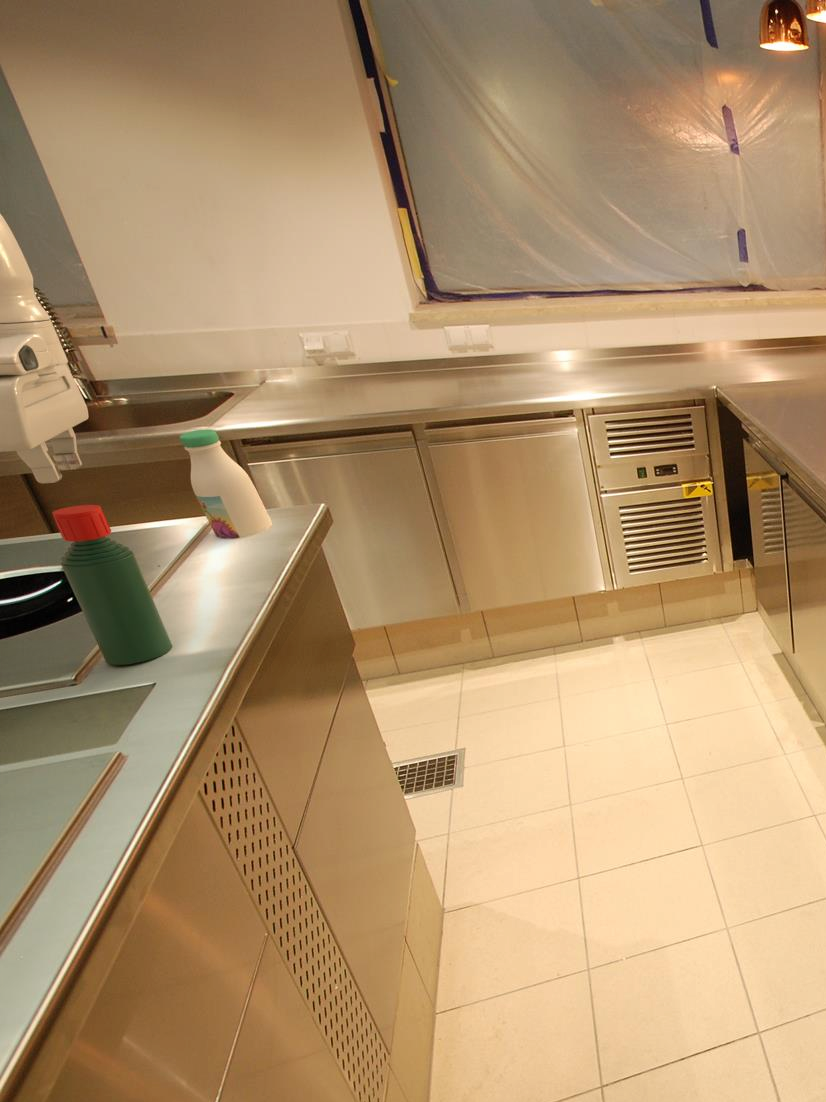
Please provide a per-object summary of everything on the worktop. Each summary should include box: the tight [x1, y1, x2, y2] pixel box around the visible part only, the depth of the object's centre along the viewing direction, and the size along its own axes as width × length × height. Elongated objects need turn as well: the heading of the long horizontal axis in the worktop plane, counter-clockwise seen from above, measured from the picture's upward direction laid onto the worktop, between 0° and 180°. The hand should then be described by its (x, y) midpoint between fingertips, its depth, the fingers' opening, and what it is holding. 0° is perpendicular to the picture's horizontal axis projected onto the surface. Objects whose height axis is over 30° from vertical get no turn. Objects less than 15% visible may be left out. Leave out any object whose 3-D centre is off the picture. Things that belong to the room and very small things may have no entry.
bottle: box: [60, 536, 173, 666], centre depth 103 cm, size 6×6×18 cm
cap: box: [51, 504, 112, 543], centre depth 99 cm, size 4×4×3 cm
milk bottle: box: [179, 429, 273, 540], centre depth 137 cm, size 8×8×20 cm
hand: (61, 475), depth 97 cm, fingers open, 5 cm apart
